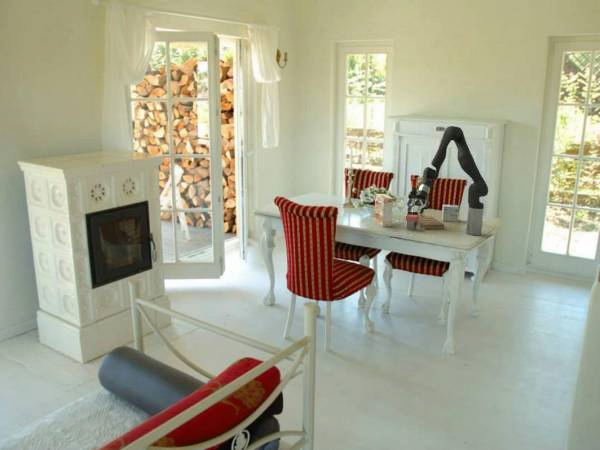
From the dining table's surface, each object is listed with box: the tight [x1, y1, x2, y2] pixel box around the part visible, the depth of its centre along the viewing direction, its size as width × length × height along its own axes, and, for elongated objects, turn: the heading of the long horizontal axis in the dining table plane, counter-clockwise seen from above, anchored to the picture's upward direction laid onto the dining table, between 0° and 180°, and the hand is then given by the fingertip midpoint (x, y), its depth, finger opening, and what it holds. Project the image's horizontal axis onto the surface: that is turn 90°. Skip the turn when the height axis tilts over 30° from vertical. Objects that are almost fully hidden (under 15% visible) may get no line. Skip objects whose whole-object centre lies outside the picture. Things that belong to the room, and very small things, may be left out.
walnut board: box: [417, 216, 445, 230], centre depth 387 cm, size 22×14×3 cm, turn 10°
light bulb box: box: [441, 204, 460, 223], centre depth 401 cm, size 11×7×11 cm, turn 84°
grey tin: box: [406, 220, 418, 231], centre depth 375 cm, size 5×5×8 cm
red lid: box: [405, 213, 420, 222], centre depth 374 cm, size 6×6×3 cm
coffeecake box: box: [373, 193, 394, 228], centre depth 386 cm, size 15×7×20 cm, turn 14°
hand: (414, 212), depth 377 cm, fingers open, 8 cm apart
